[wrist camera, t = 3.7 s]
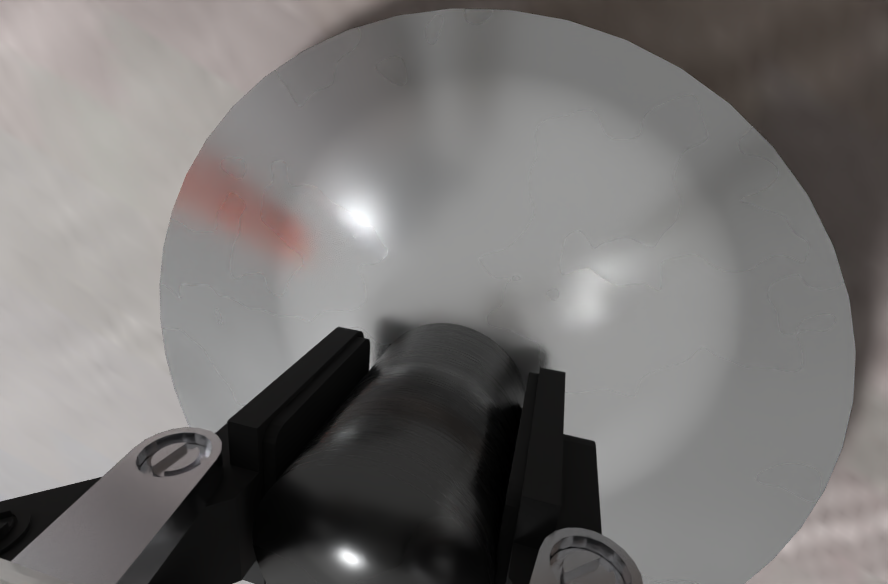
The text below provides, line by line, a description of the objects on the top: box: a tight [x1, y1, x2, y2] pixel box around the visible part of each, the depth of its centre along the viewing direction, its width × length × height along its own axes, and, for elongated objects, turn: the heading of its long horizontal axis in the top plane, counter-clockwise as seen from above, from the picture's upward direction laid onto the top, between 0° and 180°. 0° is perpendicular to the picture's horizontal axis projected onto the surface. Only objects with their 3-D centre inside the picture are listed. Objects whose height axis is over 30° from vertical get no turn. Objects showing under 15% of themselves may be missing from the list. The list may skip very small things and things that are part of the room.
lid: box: [160, 9, 856, 584], centre depth 10 cm, size 16×16×6 cm
